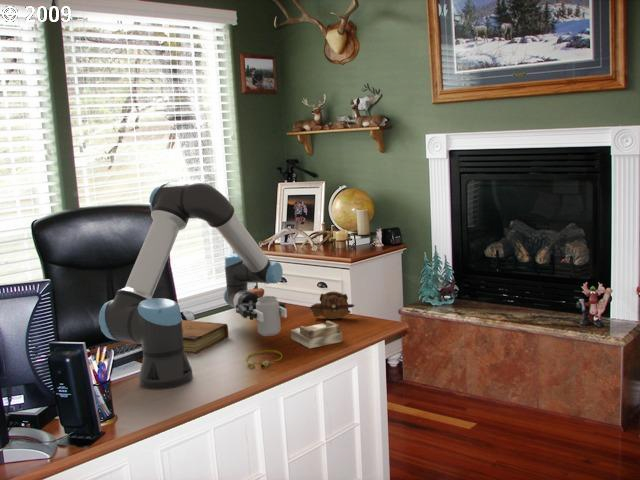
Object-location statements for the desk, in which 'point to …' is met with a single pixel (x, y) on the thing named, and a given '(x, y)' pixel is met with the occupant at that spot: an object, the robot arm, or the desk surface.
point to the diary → (202, 335)
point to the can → (268, 316)
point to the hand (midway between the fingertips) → (274, 315)
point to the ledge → (317, 334)
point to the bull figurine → (258, 292)
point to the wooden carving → (332, 305)
